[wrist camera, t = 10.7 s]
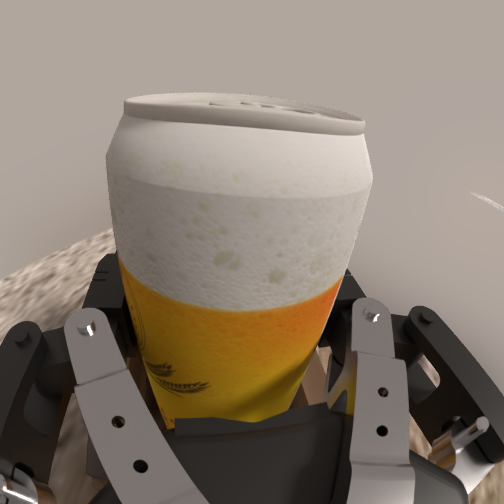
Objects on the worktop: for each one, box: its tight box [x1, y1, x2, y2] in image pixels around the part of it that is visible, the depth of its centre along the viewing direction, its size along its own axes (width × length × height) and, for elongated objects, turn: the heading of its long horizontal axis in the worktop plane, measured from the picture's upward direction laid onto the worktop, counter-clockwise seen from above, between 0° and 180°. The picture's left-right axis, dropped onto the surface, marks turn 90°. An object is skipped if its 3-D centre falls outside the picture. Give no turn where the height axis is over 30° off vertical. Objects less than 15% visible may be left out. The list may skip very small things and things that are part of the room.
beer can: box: [106, 93, 373, 429], centre depth 10 cm, size 6×6×15 cm
